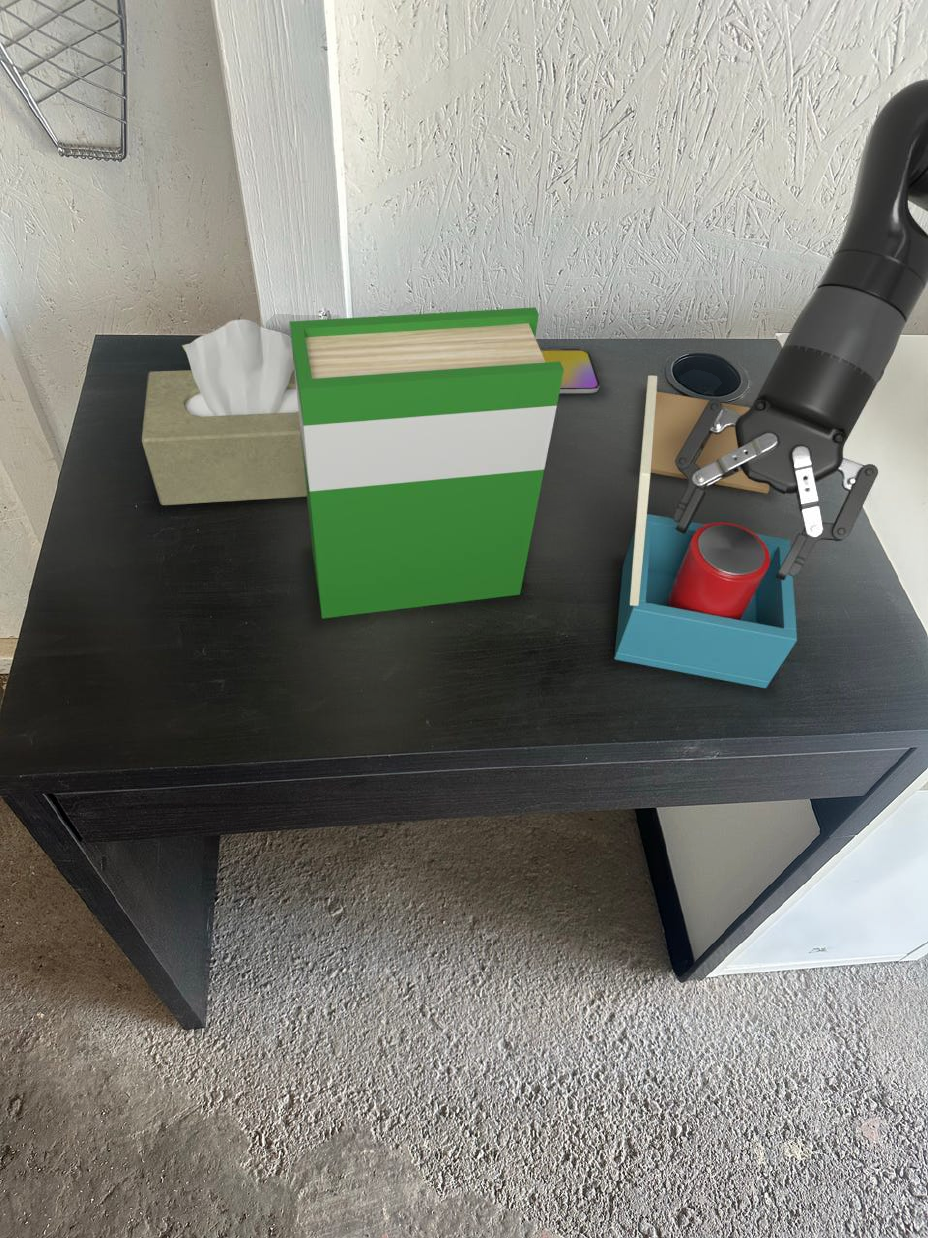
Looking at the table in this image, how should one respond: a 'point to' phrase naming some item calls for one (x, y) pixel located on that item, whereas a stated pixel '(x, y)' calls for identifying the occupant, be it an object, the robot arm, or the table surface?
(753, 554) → the drinks can
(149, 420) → the tissue box
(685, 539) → the teal open box
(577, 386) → the smartphone
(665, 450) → the cork mat
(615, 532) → the table surface
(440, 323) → the hardback book
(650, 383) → the lid
